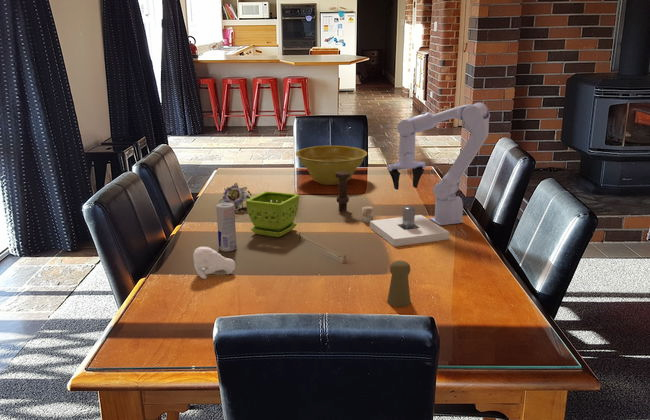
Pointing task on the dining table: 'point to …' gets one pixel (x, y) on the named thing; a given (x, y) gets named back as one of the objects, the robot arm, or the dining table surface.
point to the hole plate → (409, 231)
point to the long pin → (408, 217)
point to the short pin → (367, 214)
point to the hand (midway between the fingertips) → (405, 188)
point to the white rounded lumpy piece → (211, 262)
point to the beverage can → (226, 226)
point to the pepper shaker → (399, 284)
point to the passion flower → (235, 195)
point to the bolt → (342, 190)
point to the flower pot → (273, 213)
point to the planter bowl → (330, 161)
